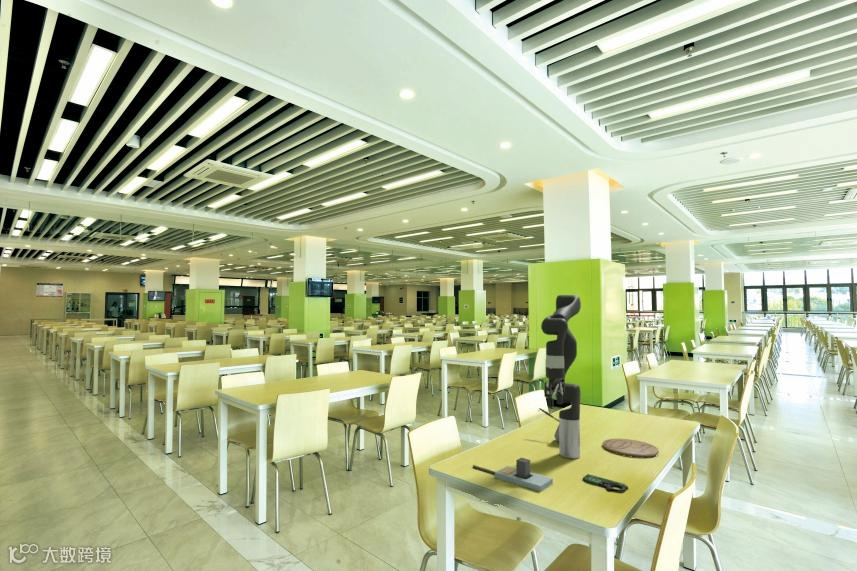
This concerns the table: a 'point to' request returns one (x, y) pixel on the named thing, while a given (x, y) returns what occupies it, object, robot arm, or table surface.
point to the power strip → (509, 475)
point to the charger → (523, 468)
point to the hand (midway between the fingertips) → (555, 405)
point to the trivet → (630, 448)
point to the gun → (605, 483)
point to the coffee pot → (558, 425)
